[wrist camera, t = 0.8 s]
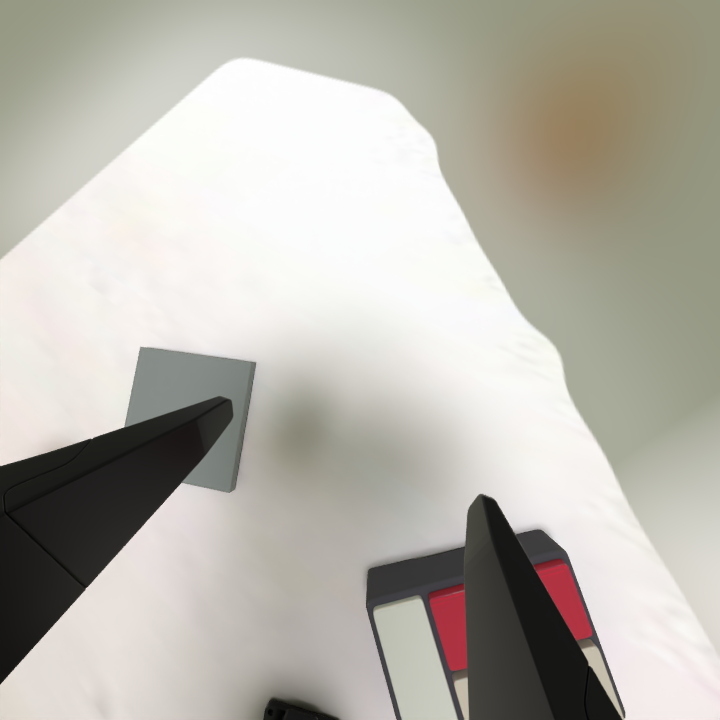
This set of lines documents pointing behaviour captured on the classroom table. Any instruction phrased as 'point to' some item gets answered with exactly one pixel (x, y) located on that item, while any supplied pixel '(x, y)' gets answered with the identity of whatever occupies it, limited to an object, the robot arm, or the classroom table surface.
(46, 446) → the classroom table surface
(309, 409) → the classroom table surface
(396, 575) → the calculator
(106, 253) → the classroom table surface
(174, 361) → the pad
